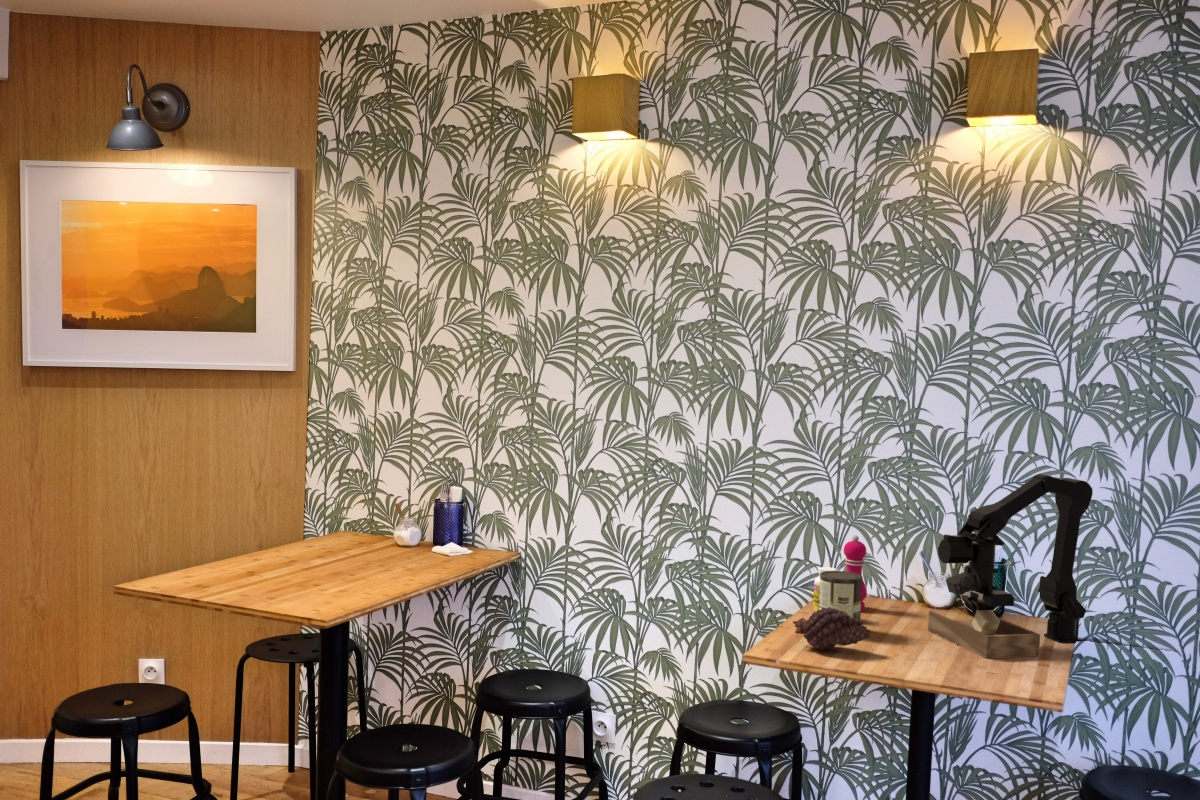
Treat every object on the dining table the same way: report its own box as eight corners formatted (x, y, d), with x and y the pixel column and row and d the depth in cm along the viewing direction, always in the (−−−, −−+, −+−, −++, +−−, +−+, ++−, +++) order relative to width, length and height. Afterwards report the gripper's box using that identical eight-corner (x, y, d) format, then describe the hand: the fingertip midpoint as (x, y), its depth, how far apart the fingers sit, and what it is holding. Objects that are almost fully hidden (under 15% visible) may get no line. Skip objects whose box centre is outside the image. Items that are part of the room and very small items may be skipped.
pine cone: (870, 649, 245) (872, 606, 245) (867, 660, 236) (869, 616, 235) (793, 640, 251) (795, 599, 250) (787, 651, 241) (789, 608, 241)
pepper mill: (866, 612, 280) (870, 538, 280) (839, 610, 282) (842, 536, 281) (865, 606, 288) (868, 533, 287) (838, 604, 289) (841, 532, 288)
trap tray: (976, 628, 267) (977, 609, 267) (1039, 655, 244) (1040, 634, 244) (927, 630, 264) (928, 611, 263) (986, 658, 240) (987, 636, 240)
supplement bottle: (807, 615, 276) (809, 566, 275) (829, 613, 278) (831, 565, 278) (821, 621, 270) (823, 571, 269) (843, 620, 272) (845, 570, 271)
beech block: (986, 624, 254) (991, 609, 252) (994, 635, 251) (1000, 621, 249) (971, 624, 254) (976, 610, 251) (979, 636, 250) (985, 621, 248)
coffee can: (844, 624, 267) (846, 569, 267) (868, 635, 258) (871, 578, 257) (809, 627, 264) (811, 571, 263) (833, 638, 254) (835, 580, 253)
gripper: (930, 555, 261) (927, 618, 262) (975, 571, 243) (971, 638, 244) (970, 555, 264) (967, 616, 265) (1017, 570, 246) (1013, 637, 247)
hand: (978, 626), depth 255 cm, fingers closed
